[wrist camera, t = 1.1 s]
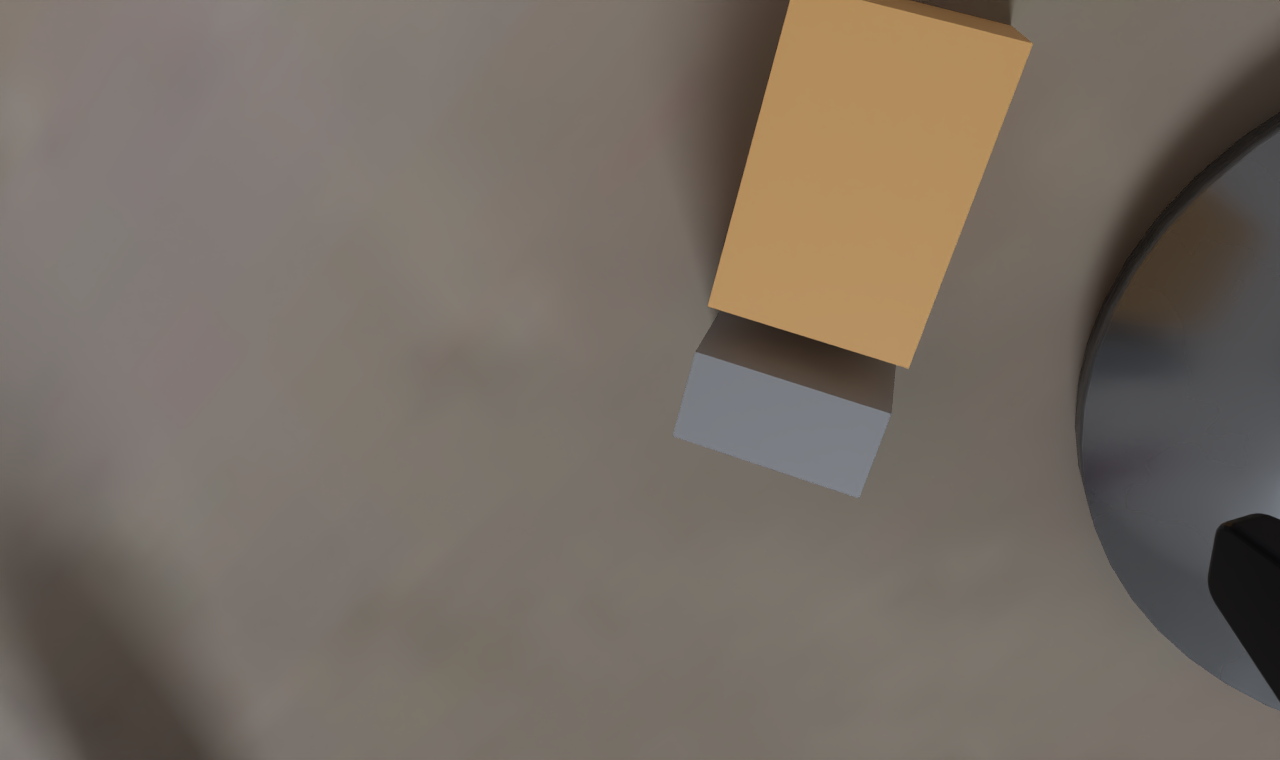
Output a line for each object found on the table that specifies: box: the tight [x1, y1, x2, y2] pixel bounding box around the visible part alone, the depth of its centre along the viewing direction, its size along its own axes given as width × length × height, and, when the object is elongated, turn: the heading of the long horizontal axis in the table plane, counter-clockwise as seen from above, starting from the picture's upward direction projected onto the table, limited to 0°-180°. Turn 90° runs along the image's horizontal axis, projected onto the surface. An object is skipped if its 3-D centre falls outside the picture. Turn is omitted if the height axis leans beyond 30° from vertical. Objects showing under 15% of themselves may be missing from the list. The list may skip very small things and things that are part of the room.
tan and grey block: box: [673, 0, 1033, 498], centre depth 20 cm, size 4×9×5 cm, turn 168°
